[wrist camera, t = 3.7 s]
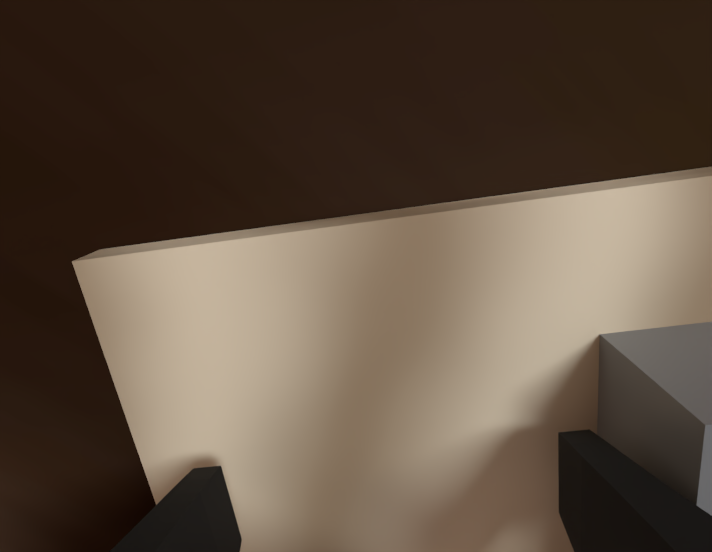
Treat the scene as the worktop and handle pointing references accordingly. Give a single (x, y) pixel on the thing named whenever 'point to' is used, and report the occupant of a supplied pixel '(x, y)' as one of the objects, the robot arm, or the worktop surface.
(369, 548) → the board
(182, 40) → the worktop surface
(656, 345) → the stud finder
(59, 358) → the worktop surface
